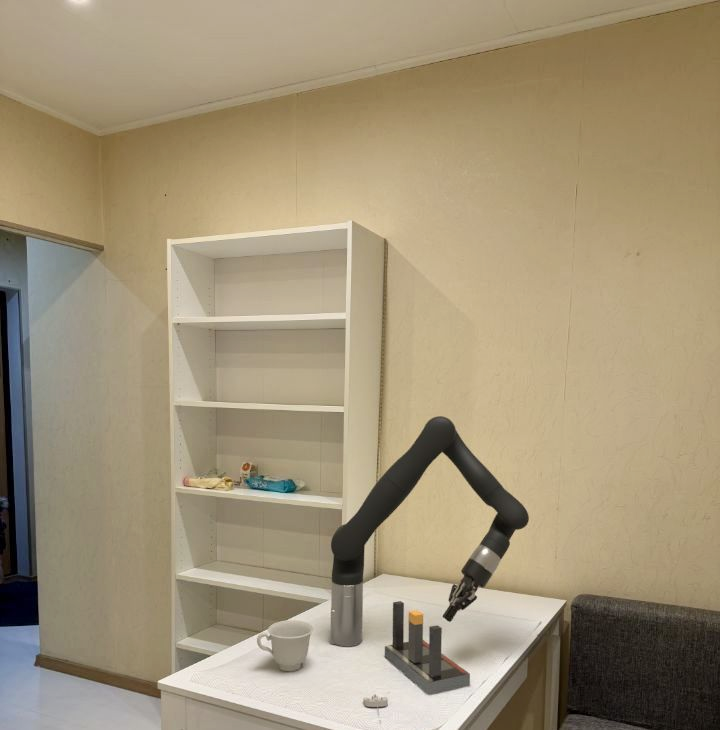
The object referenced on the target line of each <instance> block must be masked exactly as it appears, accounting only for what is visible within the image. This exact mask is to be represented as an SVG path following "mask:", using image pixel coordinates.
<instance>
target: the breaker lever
mask: <svg viewBox="0 0 720 730" xmlns="http://www.w3.org/2000/svg"><path fill="white" fill-rule="evenodd" d="M423 636H424V613H422V612H421V611H419V610H417V609H415V610H409V611H408V641H407V642H408V658H409V659H410V660H411V661H412V662H414V663H418V662H422V661H423V640H424V637H423Z"/></svg>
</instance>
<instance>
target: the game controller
mask: <svg viewBox="0 0 720 730" xmlns="http://www.w3.org/2000/svg"><path fill="white" fill-rule="evenodd" d="M362 699H363V701H362V702H363V705H364V706H365V707H369V708H376V709H377V711H378V714H380V709H379V708H380V707H388V704H389V703H388V701H389V699H388V697H386V696H381V697H379V696H378V695H377V694H373V695H372V696H371V698H370V697H363V698H362ZM381 723H382V722H381V720H379V725H380V724H381ZM381 725H382V724H381Z"/></svg>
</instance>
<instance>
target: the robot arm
mask: <svg viewBox="0 0 720 730" xmlns="http://www.w3.org/2000/svg"><path fill="white" fill-rule="evenodd" d="M441 454H443V455H445V456H446V457H447V458H448V459H449V461H451V463H453V465H454V466H455V467H456V469H457V470H458V471H459V473H460V474H461V475H462V477H463V478H464V480H465V481H466V482H467V484H468V485H469V486H470V488H471V489H472V490H473V491H474V492H475V494H476V495H477V496H478V497H479V498H480V500H482V502H483V503H484V504H485V505H487V507H491V508H492V509H494V510H495V512H496V514H495V516H494V518H493V520H492V523H491V525H490V527H489V530H488V532H487V533H486V534H485V535H484V537H483V538H482V540H481V541H480V543H479V544H478V545H477V547H476V548H475V549H474V551H473V552H472V554H471V555H470V556H469V558H468V560H467V561H466V562H465V564H464V566H463V567H461V574H462V575H463V577H462V578H461V580H459V581H458V583H457V584H455V583H453V584H452V586H451V589H450V592H449V595H448V602H449V605H448V607H447V608H446V610H445V612H444V613H443V614H442V618H443V619H445V620H446V621H447V622H449V623H451V622H452V620H453V619H454V617H455V616H456V614H457V613H458V612H460V611H463V610H465V609H466V608H467V607H469V606H470V605H471V604H472V603H474V602H475V601H476V600H477V598H478V596H477V595H476V592H477V591H478V589H479V587H480V588H481V589H484V588H485V587H486V585H488V583H489V582H490V580H491V578H492V576H493V575H494V573H495V571H496V570H497V569H498V566H499V565H500V562H501V560H502V559H503V557H504V556H505V554H506V553H507V551H508V549H509V548H510V545H511V542H510V540H511V538H512V536H513V535H514V533H515V532H516V531H517V530H522V529H524V528H525V527H526V526H528V523H529V519H530V518H529V512H528V511H527V509H526V508H525V506H524V504H522V503H521V502H520V501H519V500H518V499H517V498H516V497H515V496H513V494H512V493H510V492H509V491H508V490H507V489H506V488H504V487H503V485H502V484H501V483H500V482H499V480H498V479H497V478H496V477H495V475H493V473H492V472H491V471H490V470H489V469H488V468H487V467H486V466H485V464H483V463H482V462H481V461H480V459H478V457H476V456H475V454H473V452H472V451H471V450H470V449H469V446H468V445H466V443H465V442H464V440H463V439H462V437H461V436H460V434H459V433H458V430H457V429H456V426H455V424H454V422H453V421H452V420H451V419H450V418H447V417H446V416H439V415H438V416H434V417H431V419H429V420H428V421H427V422H426V424H425V425H424V427H423V429H422V430H421V432H420V433H419V435H418V437H417V438H416V439H415V441H414V442H413V443H412V445H411V446H410V448H408V450H407V451H406V452H405V453H404V454H403V455H401V456H400V457H399V458H398V459H397V460H396V461H395V462H394V463H393V464H392V465H391V466H390V467H389V468H388V469H387V470H386V471H385V472H384V473H383V475H382V476H381V477H380V478H379V479H378V481H377V482H376V483H375V484H374V486H373V488H372V489H371V490H370V491H369V493H368V494H367V496H366V498H365V500H364V501H363V503H362V505H361V506H360V508H359V509H358V511H357V512H356V513H355V514H354V515H353V516H352V517H351V518H350V519H349V520H348V522H346V523H344V524H342V525H340V526H339V527H338V528H337V529H336V531H335V532H334V534H333V535H332V537H331V540H330V541H331V542H330V548H331V550H330V551H331V552H332V554H333V562H332V570H331V599H330V600H331V601H330V602H331V605H330V631H329V633H330V637H329V638H330V639H329V643H330V644H331V645H336V646H340V647H353V646H357V645H360V644H361V643H362V642H363V617H364V616H363V608H364V607H363V605H364V600H363V599H364V572H365V549H366V548H365V547H366V546H365V545H366V544H367V543H368V541H369V540H370V539H371V537H372V535H373V534H374V532H375V531H376V530H377V529H378V528H379V527H380V526H381V525H382V524H383V522H385V521H386V520H387V519H388V518H389V517H391V515H392V514H393V513H394V512H395V511H396V510H397V509H398V507H400V505H401V504H402V503H403V502H404V501H405V500H406V499H407V498H408V496H409V495H410V494H411V493H412V491H413V490H414V489H415V487H416V486H417V485H418V483H419V481H420V480H421V478H422V476H423V475H424V473H426V471H427V469H428V467H429V466H430V465H431V464H432V463H433V462H434V460H436V459H437V458H438V457H439V456H440V455H441Z"/></svg>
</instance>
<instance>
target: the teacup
mask: <svg viewBox="0 0 720 730" xmlns="http://www.w3.org/2000/svg"><path fill="white" fill-rule="evenodd" d="M313 631H314V627H313V626H312V625H311V624H310V623H309V622H307V621H303V620H295V619H290V620H289V619H287V620H282V621H281V620H280V621H277V622H274V623H273V624H271V625H269V627H268V628H267V632H266V631H261V632H260V633H259V634H258V635H257V638H256V642H257V647H259V648H260V649H261V650H262V651H265V652H269V653H270V654H271V655H272V657H273V659H274V661H275V662H276V663H277V664H278V665H279V666H278V668H279V669H280V670H281V671H284V672H295V671H298V670H300V669H301V667H302V666H301V665H302V664H301V663H303V662H305V660H306V659H307V658H308V657H307V656H308V653H309V647H310V639H311V634H312V633H313ZM268 633H269V634H268ZM264 637H265V639H266V640H267V642H270V641H271V648H270V647H267V646H265V645H263V644H262V642H261V639H263V638H264Z"/></svg>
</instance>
